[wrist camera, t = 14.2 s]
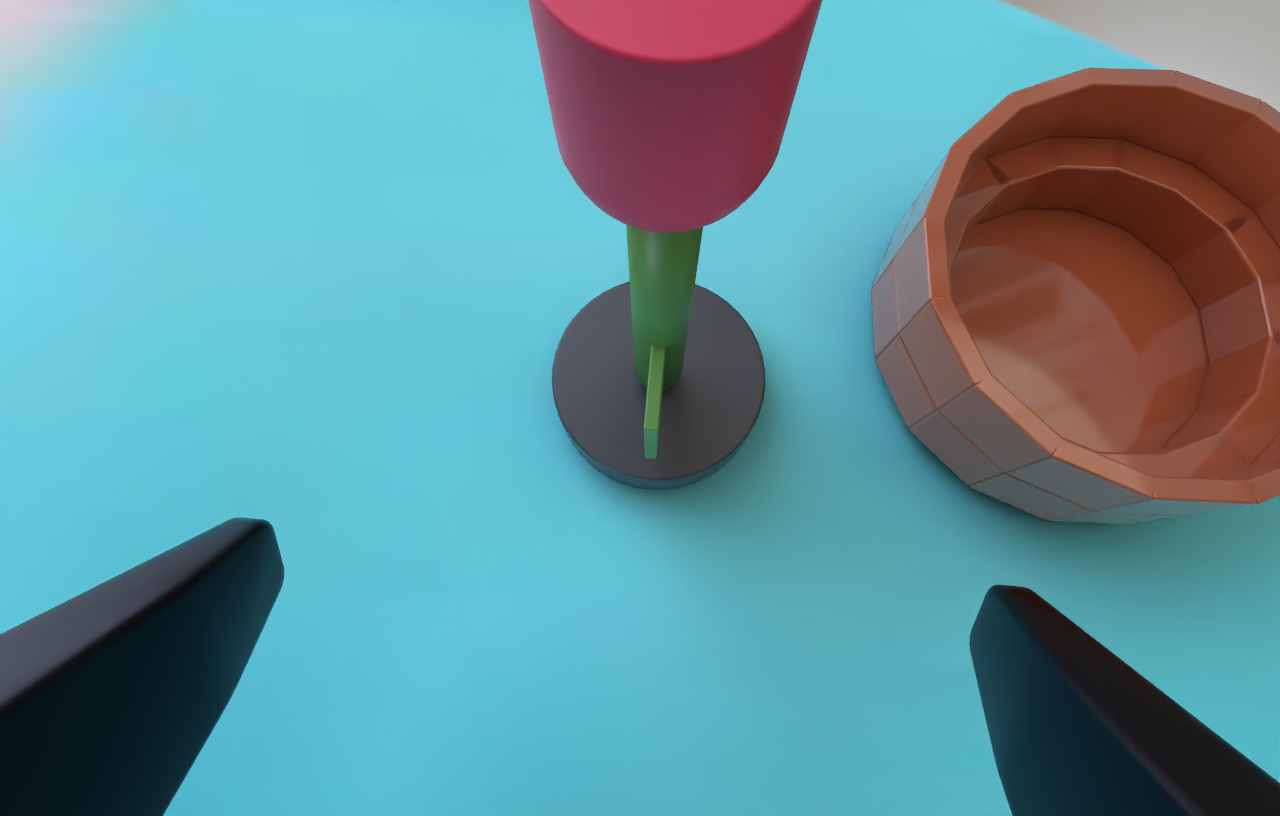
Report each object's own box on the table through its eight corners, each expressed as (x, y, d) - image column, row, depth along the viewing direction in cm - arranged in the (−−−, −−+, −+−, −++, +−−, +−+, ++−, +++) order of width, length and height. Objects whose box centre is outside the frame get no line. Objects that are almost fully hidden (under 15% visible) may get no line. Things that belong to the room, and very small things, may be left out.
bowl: (1321, 446, 19) (1521, 400, 15) (971, 583, 18) (1073, 578, 14) (1121, 133, 22) (1239, 17, 17) (807, 240, 21) (849, 145, 16)
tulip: (571, 292, 20) (418, -304, 7) (761, 307, 20) (985, -277, 7) (546, 480, 19) (295, 186, 5) (752, 498, 19) (1016, 238, 5)
